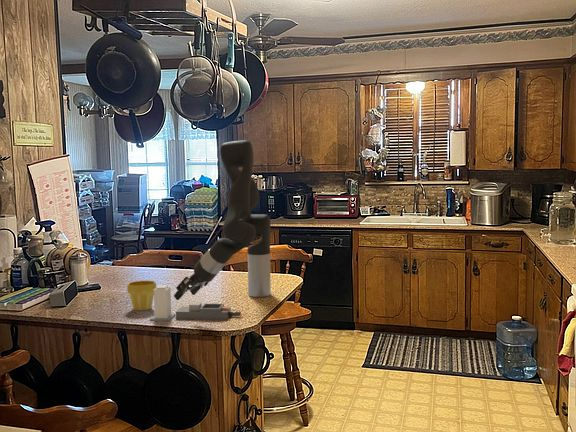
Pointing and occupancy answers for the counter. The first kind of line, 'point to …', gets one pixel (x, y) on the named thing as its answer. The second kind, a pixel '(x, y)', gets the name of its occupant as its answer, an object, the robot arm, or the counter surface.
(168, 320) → the pad
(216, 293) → the counter surface
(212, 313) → the power strip
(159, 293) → the block
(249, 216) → the robot arm
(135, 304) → the plant pot
